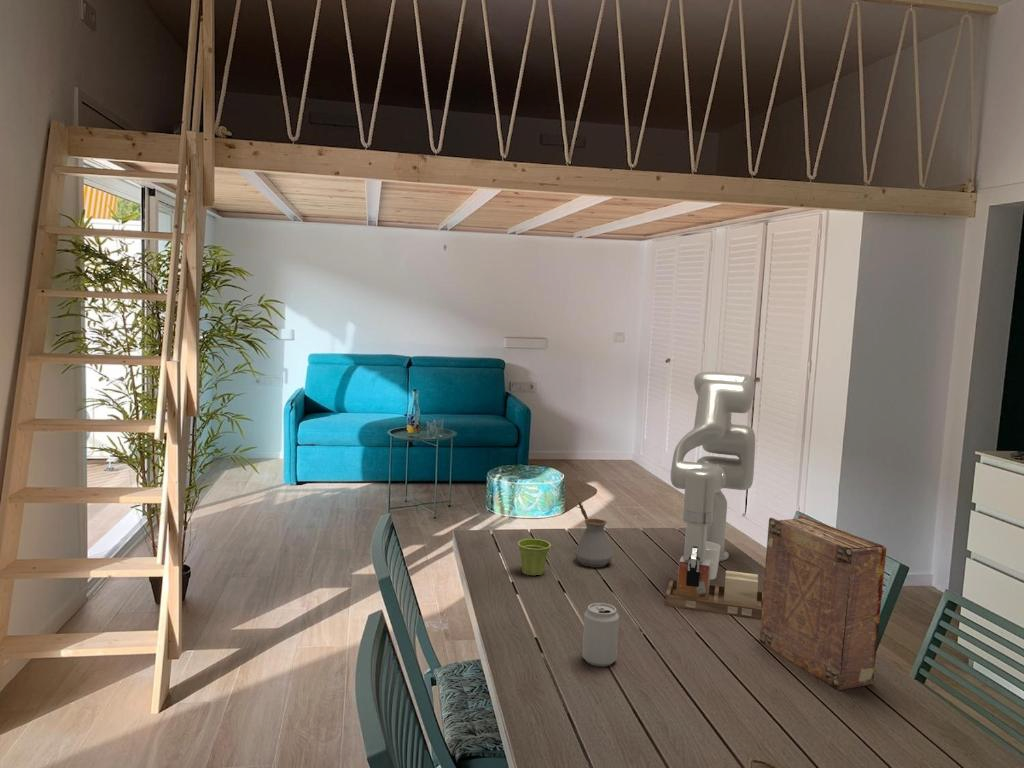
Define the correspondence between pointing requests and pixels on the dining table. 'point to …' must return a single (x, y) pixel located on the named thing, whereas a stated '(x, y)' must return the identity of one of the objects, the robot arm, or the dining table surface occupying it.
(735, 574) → the beech block
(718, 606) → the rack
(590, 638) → the can
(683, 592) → the small box
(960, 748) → the dining table surface
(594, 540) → the coffee pot
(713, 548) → the white cup
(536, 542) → the plant pot
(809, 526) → the book
